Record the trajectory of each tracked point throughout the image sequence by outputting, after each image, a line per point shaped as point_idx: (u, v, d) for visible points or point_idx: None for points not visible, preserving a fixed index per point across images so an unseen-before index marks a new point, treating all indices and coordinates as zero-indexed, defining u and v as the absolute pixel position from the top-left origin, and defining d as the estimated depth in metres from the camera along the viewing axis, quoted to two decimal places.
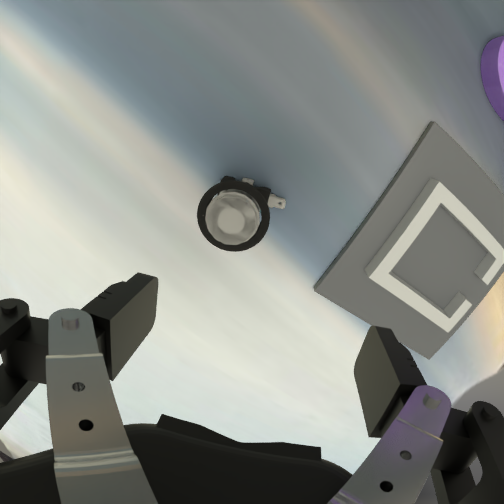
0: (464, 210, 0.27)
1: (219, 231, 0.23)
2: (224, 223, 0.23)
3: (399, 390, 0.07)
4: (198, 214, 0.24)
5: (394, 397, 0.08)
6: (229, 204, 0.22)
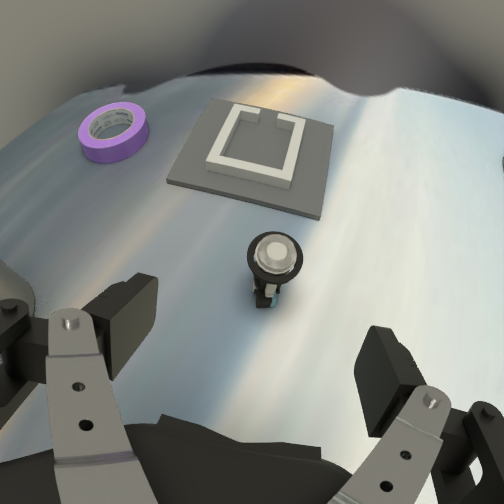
0: (218, 140, 0.45)
1: (287, 257, 0.30)
2: (280, 254, 0.30)
3: (399, 390, 0.07)
4: (282, 280, 0.29)
5: (394, 397, 0.08)
6: (264, 254, 0.29)
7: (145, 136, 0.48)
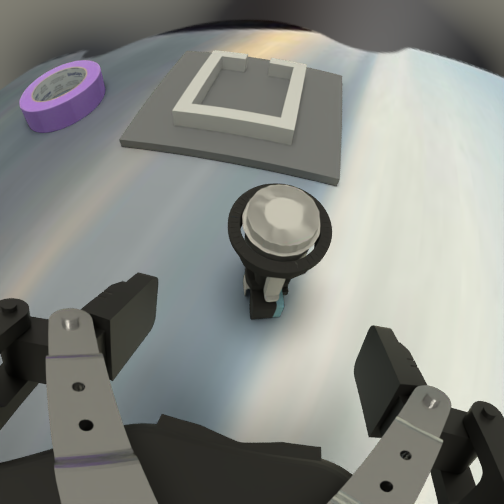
0: (191, 87, 0.31)
1: (305, 223, 0.15)
2: (291, 219, 0.15)
3: (399, 390, 0.07)
4: (297, 269, 0.15)
5: (394, 397, 0.08)
6: (261, 220, 0.15)
7: (100, 95, 0.34)
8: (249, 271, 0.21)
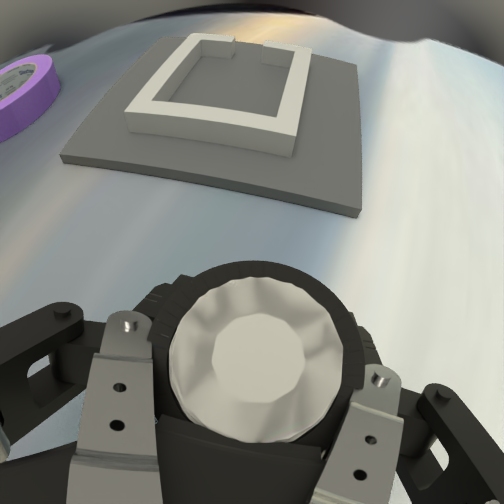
0: (155, 78, 0.22)
1: (308, 382, 0.06)
2: (274, 375, 0.06)
3: None
4: None
5: None
6: (202, 379, 0.06)
7: (50, 96, 0.25)
8: None
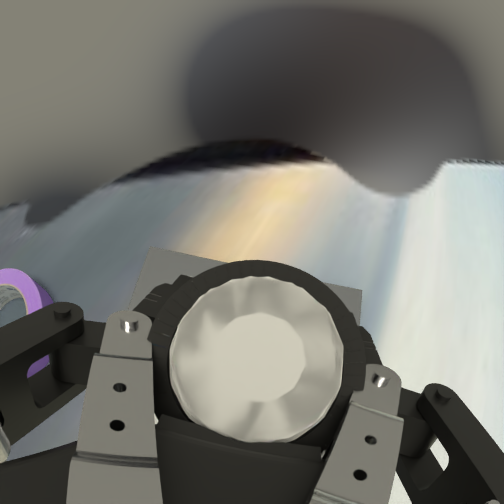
0: None
1: (309, 381, 0.06)
2: (274, 375, 0.06)
3: None
4: None
5: None
6: (202, 378, 0.06)
7: None
8: None
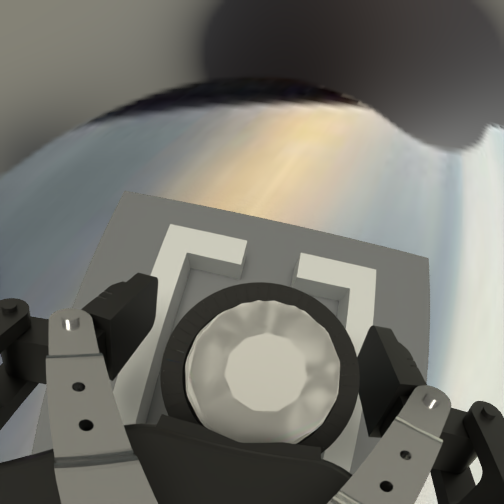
0: (121, 391, 0.14)
1: (310, 393, 0.07)
2: (280, 388, 0.07)
3: (399, 390, 0.07)
4: None
5: (394, 397, 0.08)
6: (217, 391, 0.07)
7: None
8: None
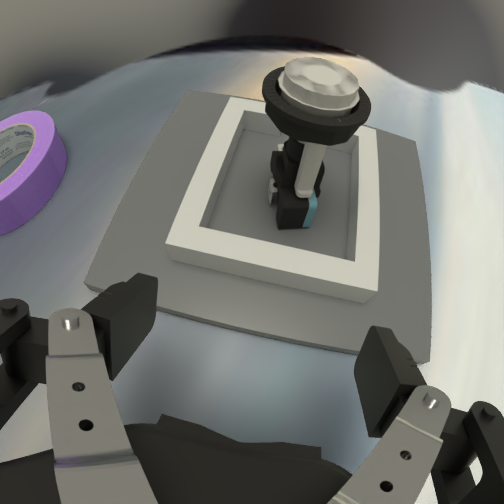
0: (196, 183, 0.20)
1: (345, 83, 0.13)
2: (330, 79, 0.13)
3: (399, 390, 0.07)
4: (341, 124, 0.13)
5: (394, 397, 0.08)
6: (299, 76, 0.13)
7: (57, 175, 0.22)
8: (278, 165, 0.18)
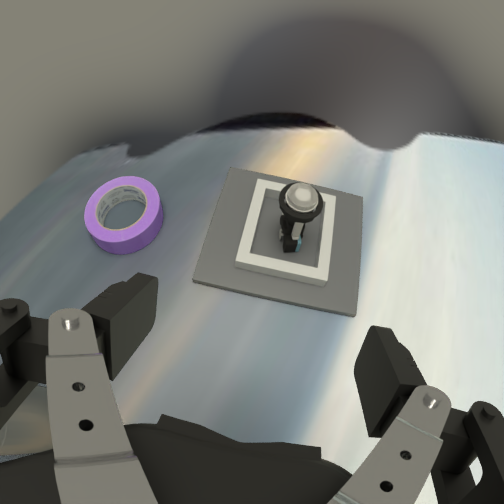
0: (246, 232, 0.43)
1: (312, 198, 0.36)
2: (306, 197, 0.37)
3: (399, 390, 0.07)
4: (309, 217, 0.36)
5: (394, 397, 0.08)
6: (293, 197, 0.36)
7: (161, 220, 0.46)
8: (284, 225, 0.42)
